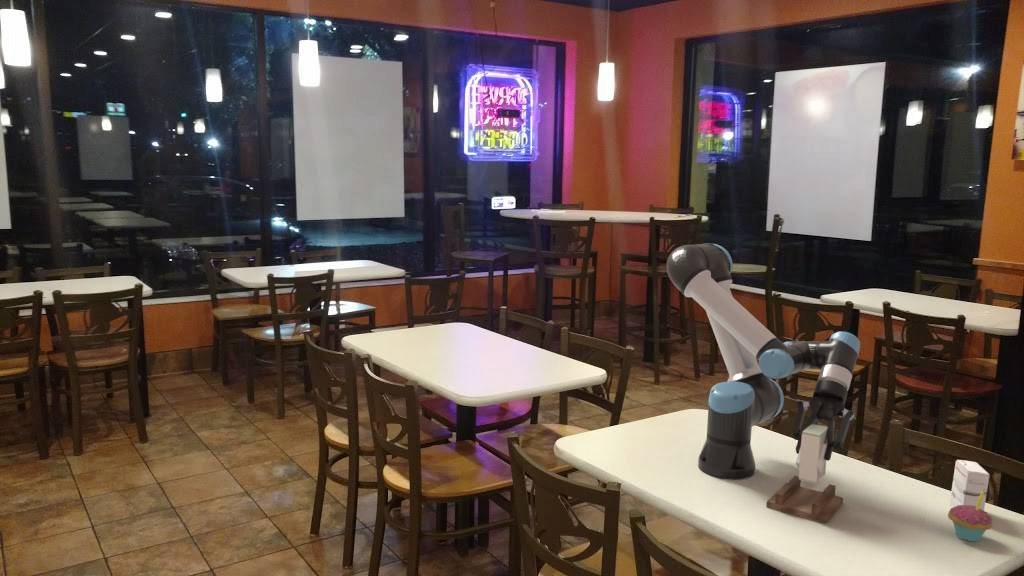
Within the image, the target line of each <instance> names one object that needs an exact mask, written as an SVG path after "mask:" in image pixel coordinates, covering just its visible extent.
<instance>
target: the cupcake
mask: <svg viewBox="0 0 1024 576" xmlns="http://www.w3.org/2000/svg"><path fill="white" fill-rule="evenodd" d="M984 490H985V489H984ZM984 490H983V491H981V494H980V497H979V500H978V503H977V506H973V505H971V506H970V505H969V506H967V505H965V506H964V505H960V506H955V507H953V508H952V507H951V508H950V509H949V512H948V513H947V517H948V518H949V520H950V521H952V523H953V526H954V531H955V535H956V536H957V537H958V538H959V539H961V540H965V541H967V540H968V541H967V542H974V541H975V542H979V541H981V539H982V537H983V535H985V534H984V533H985V532H986V531H987V530H990V529H991V528H992V526H993V517H992V516H990V514H988V513H987V512H986V511H985V509H984V510H982V509H980V505H981V502H982V499H983V496H984V493H985V492H984Z"/></svg>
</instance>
